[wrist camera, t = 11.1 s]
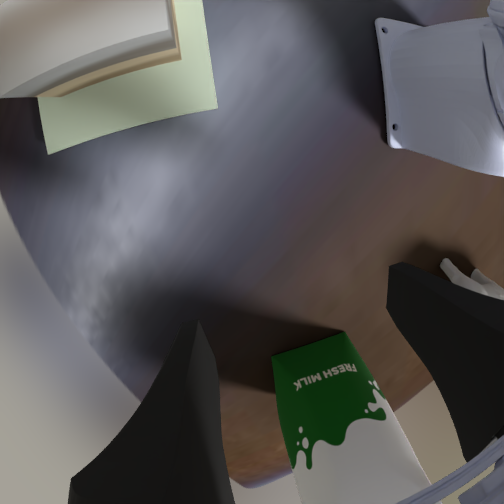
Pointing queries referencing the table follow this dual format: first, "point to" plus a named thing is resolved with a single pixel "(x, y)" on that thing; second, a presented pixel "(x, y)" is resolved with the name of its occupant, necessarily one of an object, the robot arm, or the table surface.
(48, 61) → the cream layered block
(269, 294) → the table surface
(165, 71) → the stand
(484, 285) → the dog figurine
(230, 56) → the table surface
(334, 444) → the milk carton
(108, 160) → the table surface
